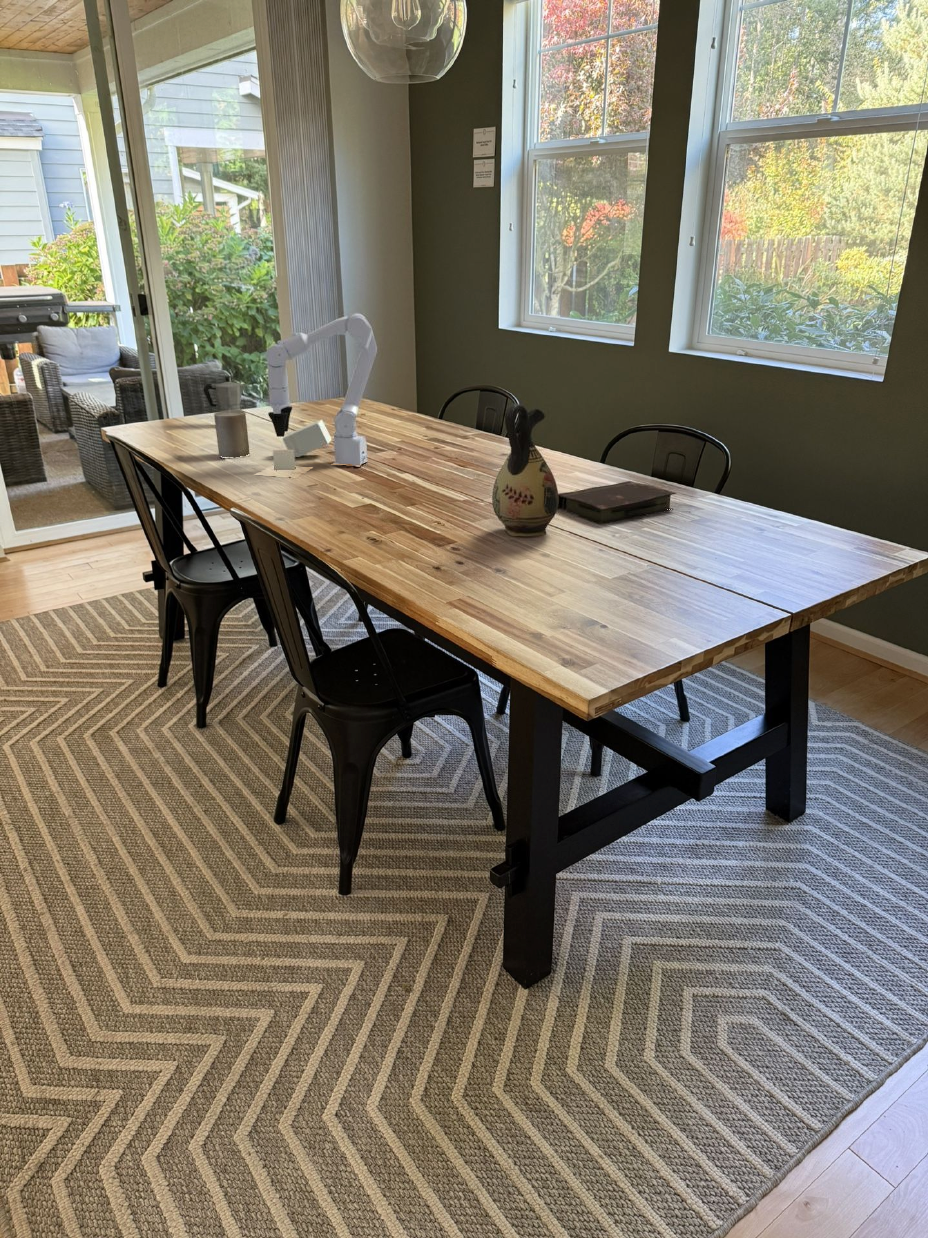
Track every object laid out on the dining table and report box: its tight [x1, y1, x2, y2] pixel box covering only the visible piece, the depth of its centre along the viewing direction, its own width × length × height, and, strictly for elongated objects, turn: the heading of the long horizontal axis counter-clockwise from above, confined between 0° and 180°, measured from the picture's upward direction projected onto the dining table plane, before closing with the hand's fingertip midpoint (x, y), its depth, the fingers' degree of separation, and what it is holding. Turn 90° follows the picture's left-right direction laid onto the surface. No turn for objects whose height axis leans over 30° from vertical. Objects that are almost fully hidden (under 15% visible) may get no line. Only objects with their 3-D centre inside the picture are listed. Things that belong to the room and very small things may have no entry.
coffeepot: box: [202, 376, 248, 412], centre depth 324 cm, size 15×9×18 cm, turn 103°
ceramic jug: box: [491, 403, 559, 537], centre depth 202 cm, size 17×15×30 cm
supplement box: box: [282, 419, 333, 458], centre depth 278 cm, size 7×7×13 cm
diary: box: [557, 480, 677, 525], centre depth 226 cm, size 19×25×5 cm
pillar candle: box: [213, 410, 251, 457], centre depth 279 cm, size 10×10×15 cm
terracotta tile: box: [272, 449, 296, 471], centre depth 261 cm, size 2×6×6 cm, turn 95°
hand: (282, 433), depth 265 cm, fingers open, 7 cm apart
